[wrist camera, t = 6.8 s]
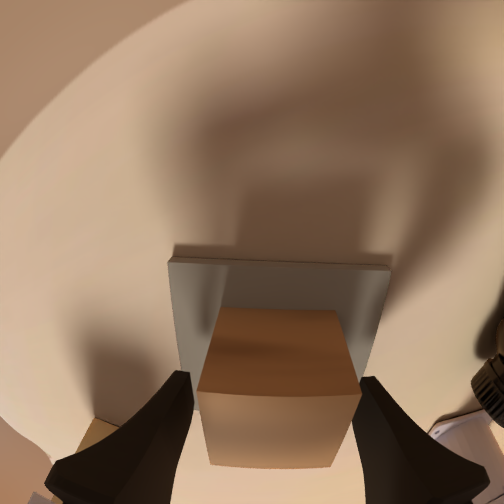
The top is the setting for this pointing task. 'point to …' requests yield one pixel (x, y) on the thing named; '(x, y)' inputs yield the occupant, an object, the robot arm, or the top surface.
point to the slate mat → (273, 300)
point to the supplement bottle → (492, 381)
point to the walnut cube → (276, 389)
